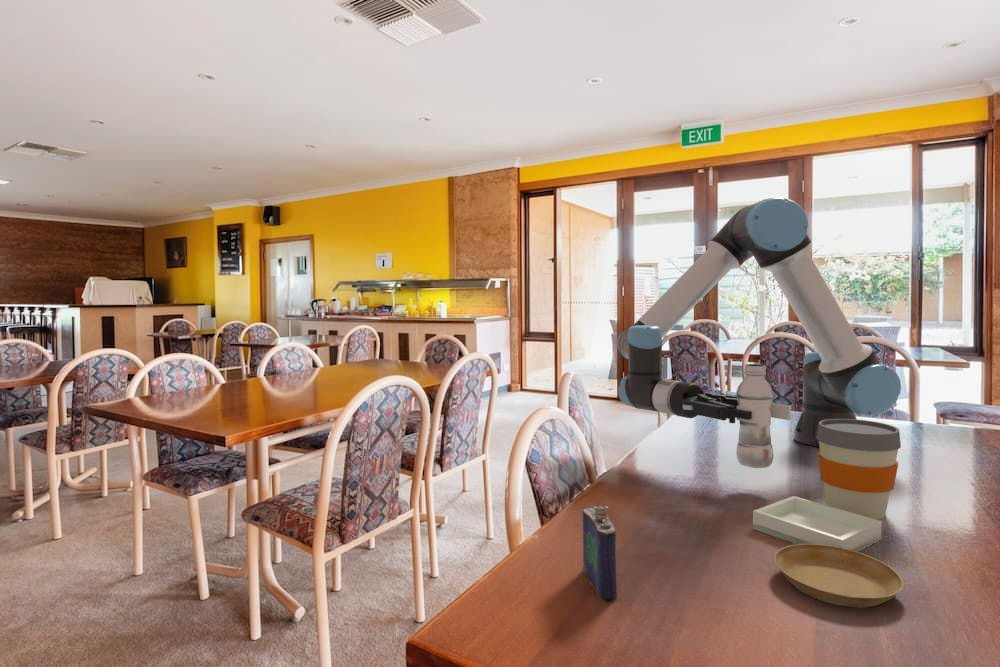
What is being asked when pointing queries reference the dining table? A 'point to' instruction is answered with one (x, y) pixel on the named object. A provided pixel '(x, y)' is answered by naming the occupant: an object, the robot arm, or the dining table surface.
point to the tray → (816, 524)
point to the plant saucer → (838, 575)
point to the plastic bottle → (753, 436)
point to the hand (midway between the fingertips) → (779, 415)
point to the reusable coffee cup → (858, 464)
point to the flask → (600, 553)
